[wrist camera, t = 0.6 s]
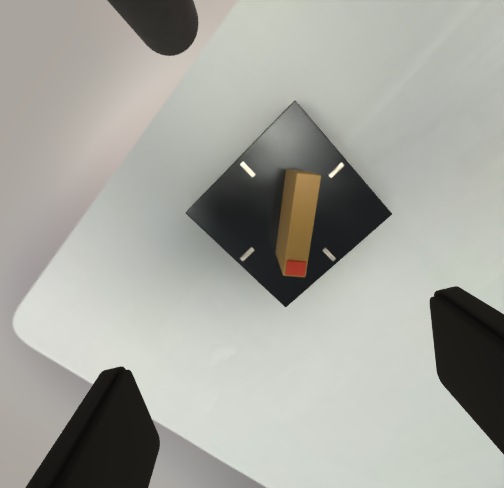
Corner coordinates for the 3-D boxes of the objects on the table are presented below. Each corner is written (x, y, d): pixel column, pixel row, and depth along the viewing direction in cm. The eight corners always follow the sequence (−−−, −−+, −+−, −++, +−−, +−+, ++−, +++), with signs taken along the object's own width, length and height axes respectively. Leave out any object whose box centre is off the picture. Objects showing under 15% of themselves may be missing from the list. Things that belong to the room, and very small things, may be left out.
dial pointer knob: (285, 168, 24) (297, 172, 19) (306, 170, 24) (322, 175, 19) (275, 253, 26) (283, 277, 21) (293, 255, 26) (306, 279, 21)
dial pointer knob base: (191, 206, 28) (184, 213, 25) (289, 106, 26) (295, 99, 23) (281, 293, 31) (285, 308, 28) (377, 207, 28) (393, 214, 25)
